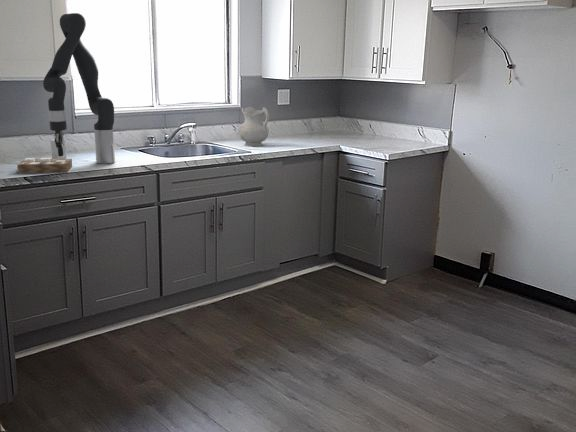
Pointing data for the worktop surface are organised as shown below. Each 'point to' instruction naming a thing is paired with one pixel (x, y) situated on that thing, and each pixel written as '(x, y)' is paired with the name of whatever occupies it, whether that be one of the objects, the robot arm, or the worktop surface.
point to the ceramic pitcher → (254, 126)
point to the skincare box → (55, 151)
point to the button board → (45, 166)
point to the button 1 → (29, 160)
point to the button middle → (45, 160)
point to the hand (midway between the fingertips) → (61, 155)
